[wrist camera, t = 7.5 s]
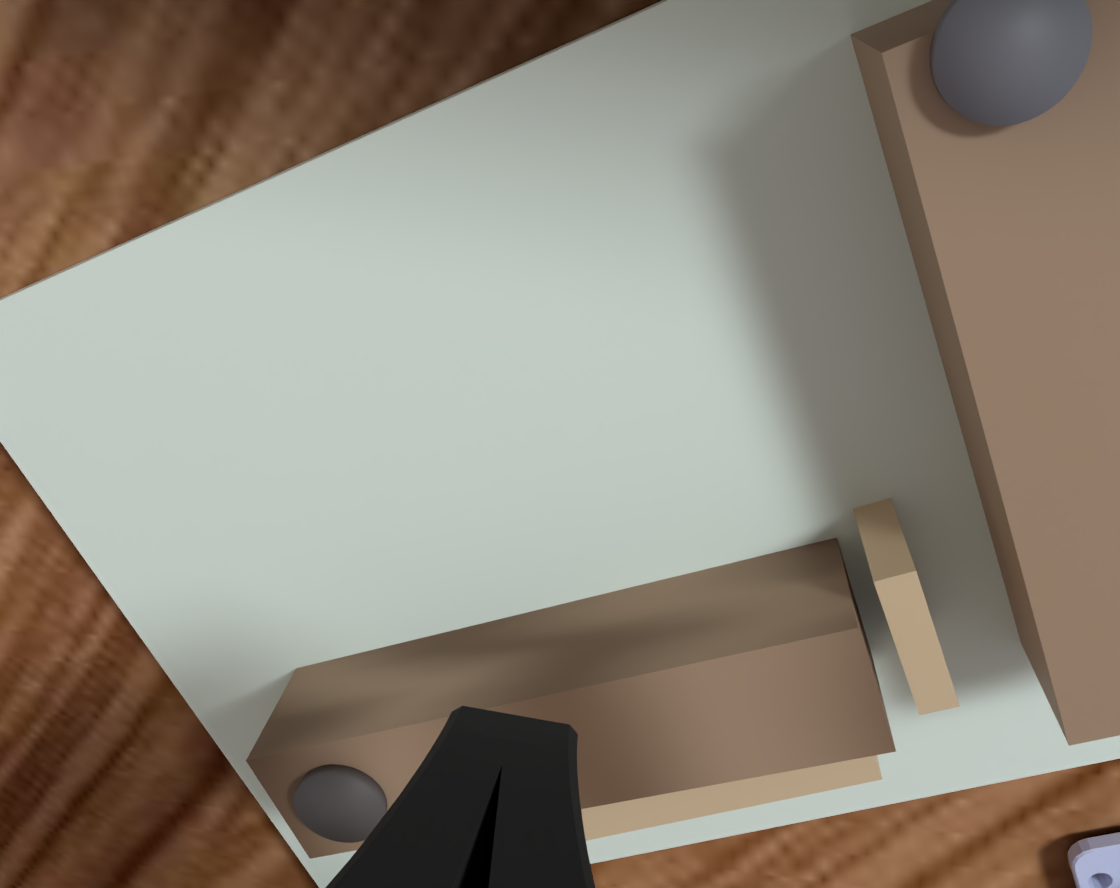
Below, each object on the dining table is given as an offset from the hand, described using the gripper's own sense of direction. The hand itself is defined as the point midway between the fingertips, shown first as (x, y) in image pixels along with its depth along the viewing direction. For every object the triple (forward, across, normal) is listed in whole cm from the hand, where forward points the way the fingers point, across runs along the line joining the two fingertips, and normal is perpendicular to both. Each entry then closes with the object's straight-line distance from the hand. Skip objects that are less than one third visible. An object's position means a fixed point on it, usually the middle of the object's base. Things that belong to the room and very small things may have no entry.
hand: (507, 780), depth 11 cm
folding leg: (+8, 0, +5) cm, 10 cm away
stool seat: (+9, -1, +2) cm, 10 cm away
